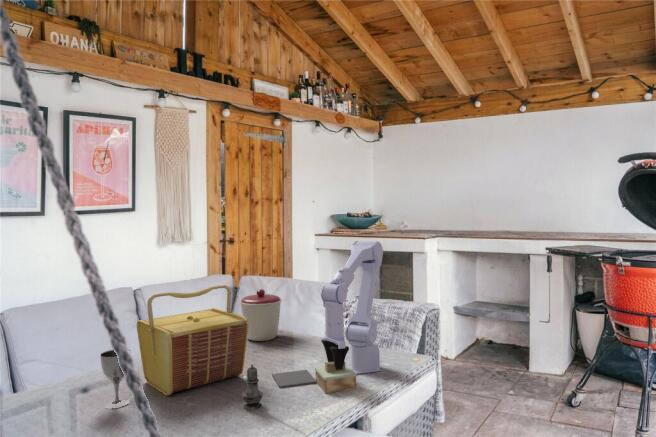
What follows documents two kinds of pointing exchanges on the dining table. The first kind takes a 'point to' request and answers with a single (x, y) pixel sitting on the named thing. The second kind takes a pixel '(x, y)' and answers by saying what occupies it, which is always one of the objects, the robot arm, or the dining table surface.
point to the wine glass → (112, 370)
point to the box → (336, 384)
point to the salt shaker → (252, 390)
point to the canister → (261, 315)
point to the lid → (334, 371)
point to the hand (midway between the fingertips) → (335, 365)
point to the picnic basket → (192, 345)
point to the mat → (293, 378)
